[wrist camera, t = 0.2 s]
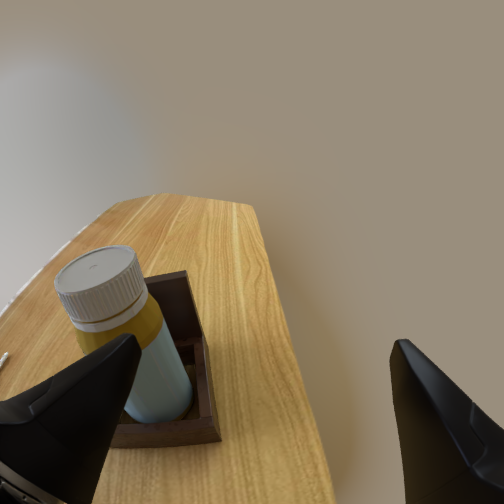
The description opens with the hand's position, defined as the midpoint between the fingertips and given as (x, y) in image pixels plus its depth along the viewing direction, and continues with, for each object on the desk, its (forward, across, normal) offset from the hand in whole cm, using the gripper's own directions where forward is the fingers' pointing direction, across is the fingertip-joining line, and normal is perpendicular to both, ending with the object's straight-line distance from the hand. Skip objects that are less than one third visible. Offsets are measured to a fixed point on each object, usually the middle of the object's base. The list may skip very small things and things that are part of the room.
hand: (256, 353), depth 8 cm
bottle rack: (+6, +12, +15) cm, 20 cm away
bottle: (+6, +12, +15) cm, 20 cm away
